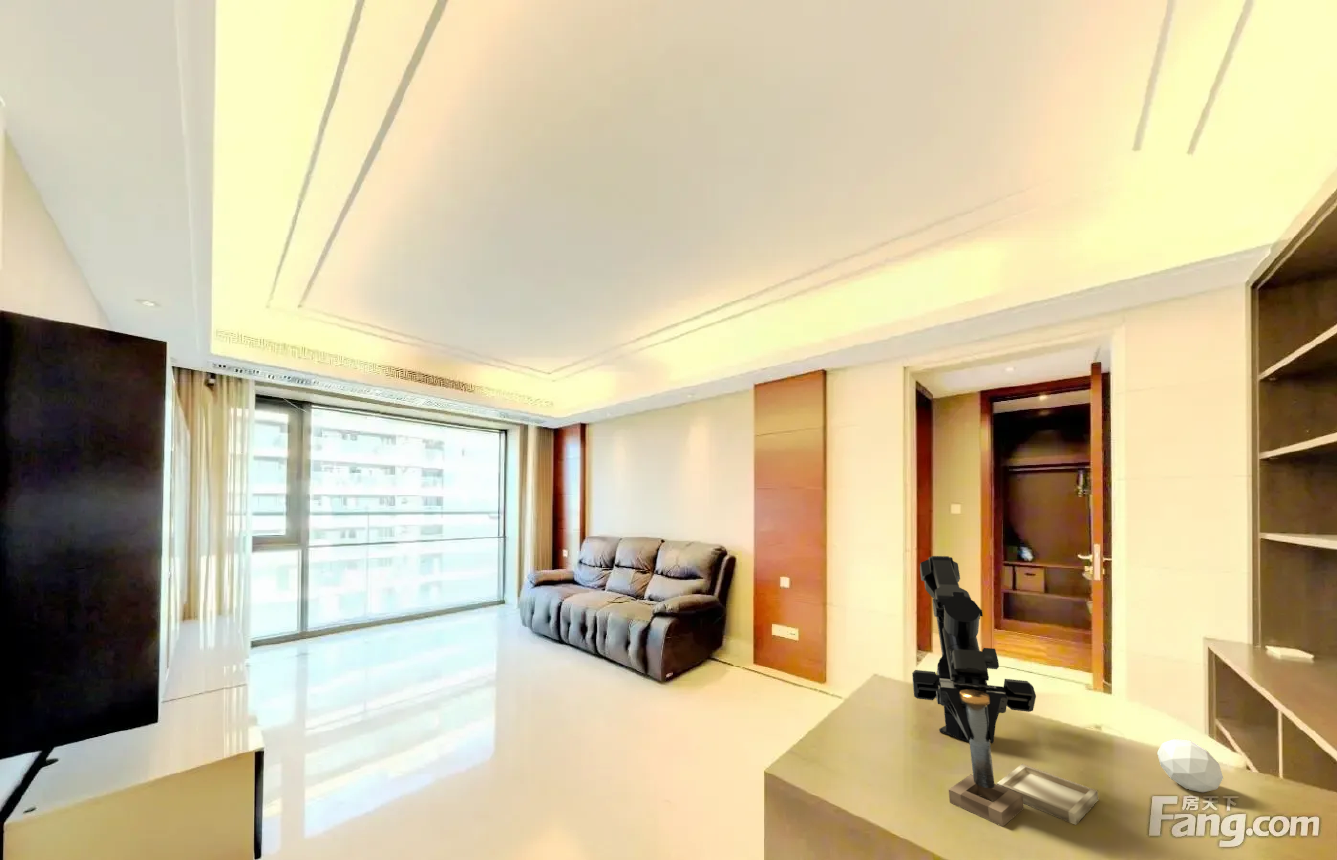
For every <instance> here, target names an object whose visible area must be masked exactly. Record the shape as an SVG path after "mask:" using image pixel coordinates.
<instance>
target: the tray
mask: <svg viewBox="0 0 1337 860" xmlns="http://www.w3.org/2000/svg"><path fill="white" fill-rule="evenodd" d="M996 785H999V786H1001V787H1004V788H1006V789H1009V790H1011V791H1014V792H1016V793H1019V794H1021V795H1022V796H1023V805H1027V806H1029V807H1032V808H1034V809H1036V810H1039V811H1042V812H1043V813H1046V814H1047V815H1048V814H1049V815H1051V816H1053V817H1056V818H1058V819H1061V820H1063V821H1065V822H1068V823H1070V824H1073V825H1076V826H1077V825H1078V824H1079V822H1080V821H1081V820H1082V819H1083V818H1084V817H1085V816H1086V815H1087V814H1088V812H1089V811H1091V809H1092V808H1094V806H1095V805H1096V804H1097V803H1098V802H1099V800H1100V799H1099V794H1098V790H1097V789H1095V788H1091V787H1088V786H1086V785H1084V784H1080V783H1078V782H1075V781H1072V780H1069V779H1066V778H1063V777H1060V776H1058V775H1055V774H1052V773H1049V772H1047V771H1045V770H1041V769H1039V768H1036V767H1032V766H1029V765H1027V764H1024V763H1021V764H1020V765H1018V766H1017V767H1016V768H1015V769H1013V770H1012V771H1011V772H1010V773H1008V774H1006V775H1005V776H1004V777H1003V778H1002V779H1000V780H999V781H998V782H996ZM1097 801H1098V802H1097ZM1096 802H1097V803H1096ZM1095 803H1096V804H1095ZM1094 804H1095V805H1094ZM1091 807H1092V808H1091ZM1090 808H1091V809H1090ZM1086 813H1087V814H1086ZM1085 814H1086V815H1085Z"/></svg>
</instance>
